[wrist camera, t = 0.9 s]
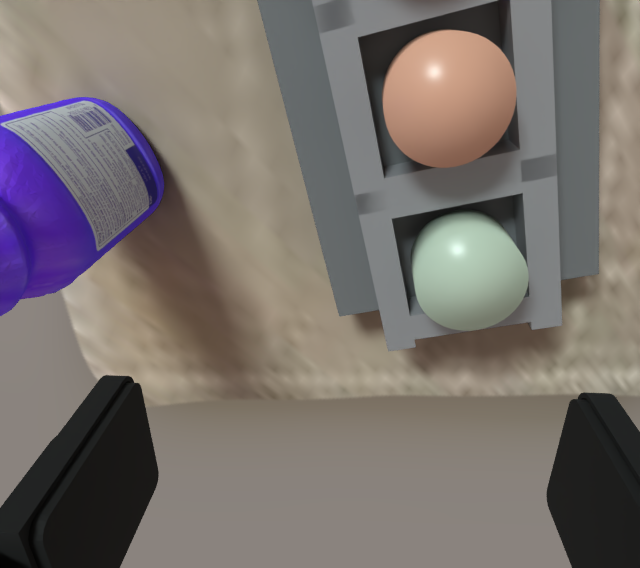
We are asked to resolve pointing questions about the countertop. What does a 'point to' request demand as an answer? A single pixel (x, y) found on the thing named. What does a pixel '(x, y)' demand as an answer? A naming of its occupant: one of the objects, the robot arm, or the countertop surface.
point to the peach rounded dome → (448, 97)
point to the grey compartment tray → (431, 182)
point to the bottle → (68, 192)
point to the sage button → (467, 270)
